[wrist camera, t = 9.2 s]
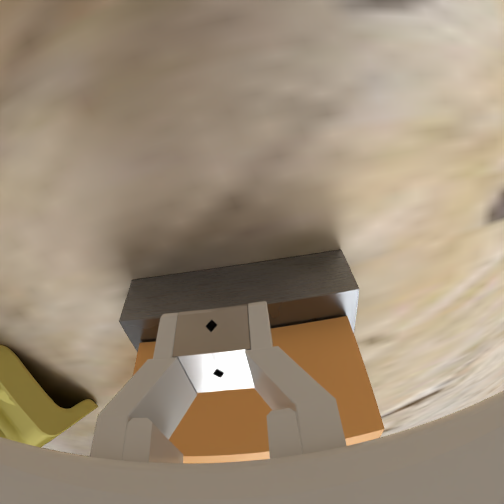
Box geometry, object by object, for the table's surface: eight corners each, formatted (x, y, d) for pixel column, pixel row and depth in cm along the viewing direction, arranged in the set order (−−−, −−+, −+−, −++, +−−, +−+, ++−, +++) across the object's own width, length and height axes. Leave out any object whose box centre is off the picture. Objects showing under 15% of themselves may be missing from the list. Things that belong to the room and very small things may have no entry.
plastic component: (-23, 348, 17) (60, 450, 17) (35, 314, 24) (106, 400, 24) (-37, 412, 23) (15, 475, 23) (-3, 386, 30) (46, 443, 30)
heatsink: (325, 431, 30) (336, 493, 24) (223, 444, 30) (225, 506, 24) (341, 249, 16) (394, 372, 10) (132, 280, 16) (97, 404, 10)
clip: (339, 381, 18) (360, 469, 13) (176, 400, 18) (171, 488, 13) (347, 315, 14) (384, 428, 10) (139, 342, 15) (120, 453, 10)
